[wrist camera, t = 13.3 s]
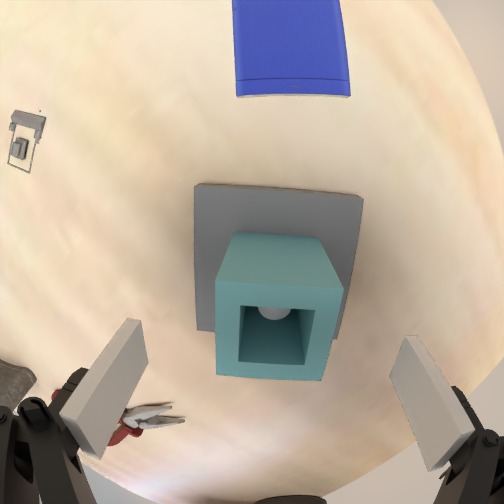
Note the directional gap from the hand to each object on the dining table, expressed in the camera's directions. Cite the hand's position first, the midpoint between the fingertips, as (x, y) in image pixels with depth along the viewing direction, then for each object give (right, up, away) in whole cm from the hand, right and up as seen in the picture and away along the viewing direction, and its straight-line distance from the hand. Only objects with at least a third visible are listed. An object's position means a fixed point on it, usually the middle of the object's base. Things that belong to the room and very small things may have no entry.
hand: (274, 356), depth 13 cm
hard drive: (+2, +22, +4) cm, 23 cm away
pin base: (+1, +4, +10) cm, 11 cm away
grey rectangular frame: (-25, +20, +6) cm, 32 cm away
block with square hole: (+1, +3, +9) cm, 9 cm away
